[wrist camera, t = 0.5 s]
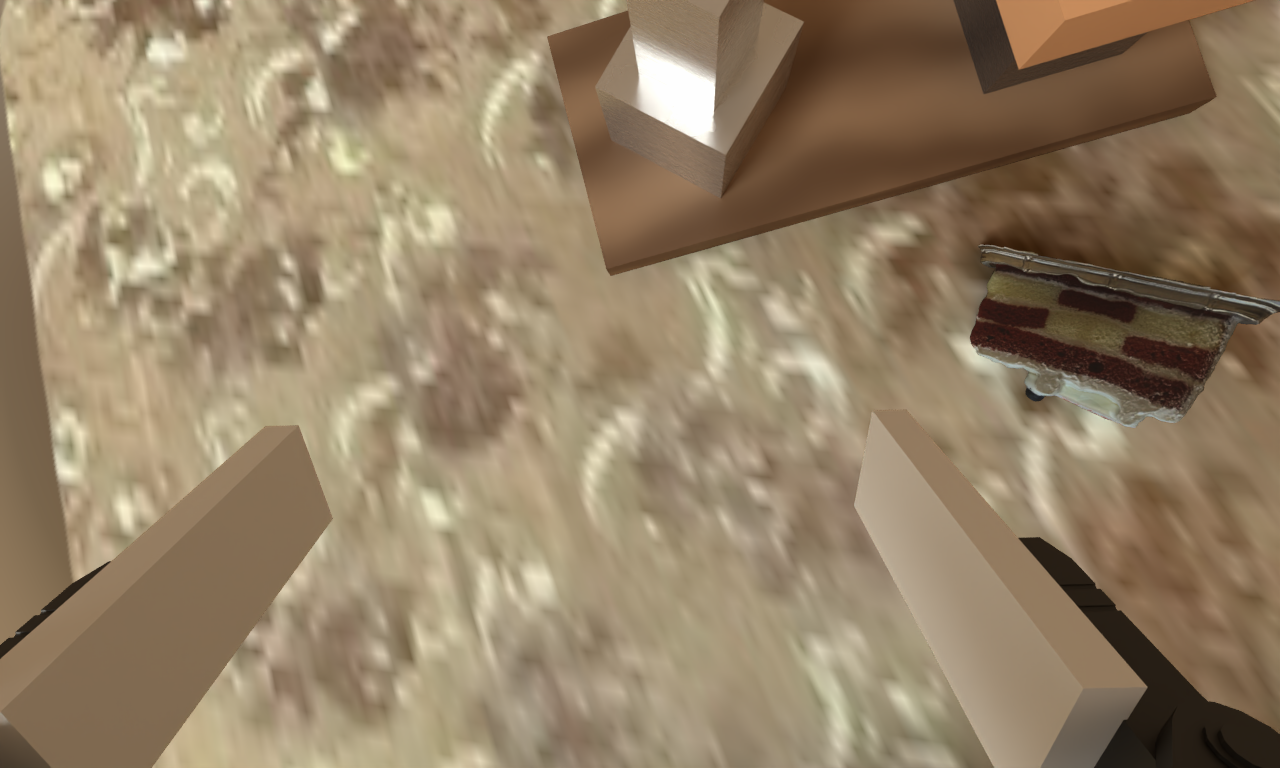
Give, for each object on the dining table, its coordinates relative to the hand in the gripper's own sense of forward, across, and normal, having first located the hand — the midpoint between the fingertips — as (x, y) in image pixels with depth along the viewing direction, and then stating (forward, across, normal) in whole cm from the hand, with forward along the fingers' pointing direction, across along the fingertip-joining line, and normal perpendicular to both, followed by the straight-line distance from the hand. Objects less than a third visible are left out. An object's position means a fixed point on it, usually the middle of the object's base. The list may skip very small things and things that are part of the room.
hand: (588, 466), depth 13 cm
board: (+25, -14, -8) cm, 29 cm away
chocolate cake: (+16, -24, +5) cm, 29 cm away
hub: (+23, -5, -7) cm, 25 cm away
